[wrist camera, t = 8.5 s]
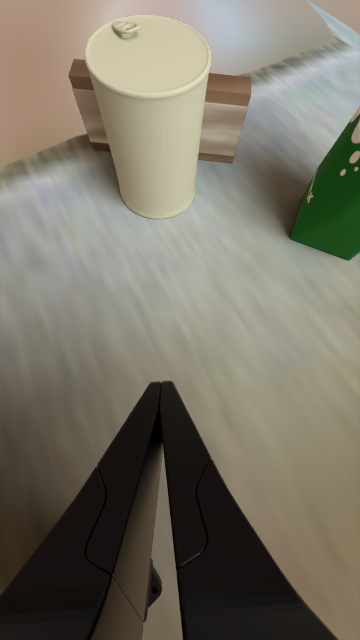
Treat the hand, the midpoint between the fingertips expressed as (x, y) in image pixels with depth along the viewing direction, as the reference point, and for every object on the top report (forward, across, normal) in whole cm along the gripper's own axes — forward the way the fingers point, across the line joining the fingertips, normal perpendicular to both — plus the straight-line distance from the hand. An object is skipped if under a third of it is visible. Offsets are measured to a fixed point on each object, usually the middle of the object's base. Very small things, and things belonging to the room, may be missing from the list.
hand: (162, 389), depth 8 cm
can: (+25, +1, -8) cm, 26 cm away
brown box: (+30, 0, -12) cm, 32 cm away
